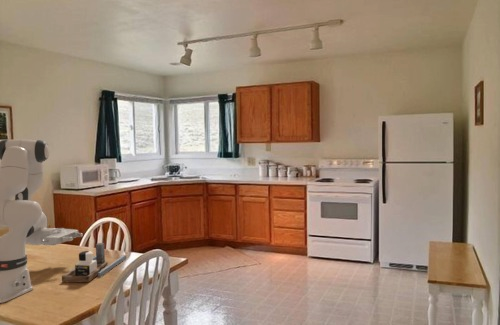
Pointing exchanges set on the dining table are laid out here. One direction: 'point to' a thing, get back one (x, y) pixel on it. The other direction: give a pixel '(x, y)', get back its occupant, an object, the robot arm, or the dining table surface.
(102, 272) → the guide rails
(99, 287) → the dining table surface
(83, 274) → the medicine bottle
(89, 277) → the brown tray fixture
